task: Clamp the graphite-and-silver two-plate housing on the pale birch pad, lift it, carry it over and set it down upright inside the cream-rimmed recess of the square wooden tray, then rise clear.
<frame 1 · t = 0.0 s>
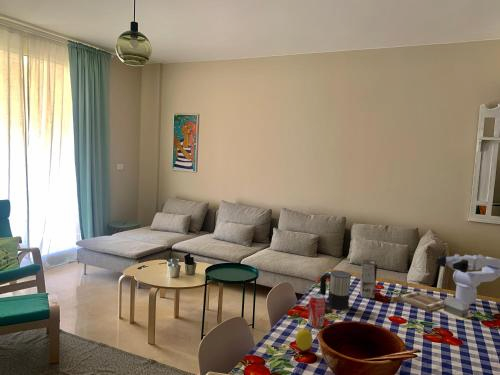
hand: (445, 263, 174), 22 cm above the table, tool horizontal, fingers open, 7 cm apart
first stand: (455, 316, 172), on the table
housing: (455, 312, 171), point 1 cm above the table, touching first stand
square wooden tray: (422, 304, 183), on the table
milk frother: (331, 308, 175), on the table
soda can: (315, 325, 156), on the table
coffee box: (367, 294, 193), on the table
lemon: (303, 351, 135), on the table
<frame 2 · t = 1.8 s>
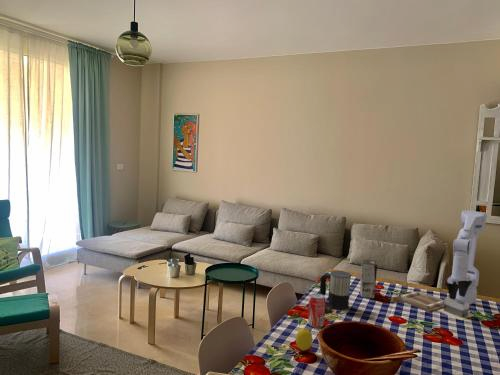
hand: (457, 297, 171), 8 cm above the table, tool pointing down, fingers open, 7 cm apart
nothing on the table moved.
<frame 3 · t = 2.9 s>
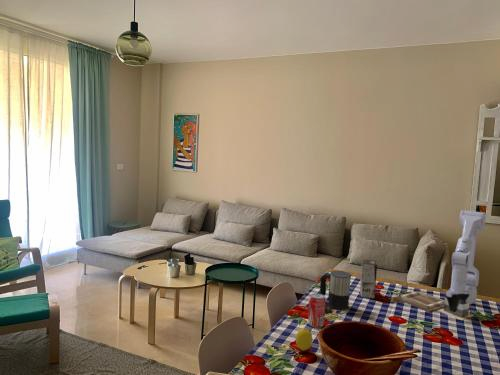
hand: (455, 310, 171), 3 cm above the table, tool pointing down, fingers closed on housing, 5 cm apart
housing: (455, 312, 171), point 1 cm above the table, touching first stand, gripper
everything else where it was.
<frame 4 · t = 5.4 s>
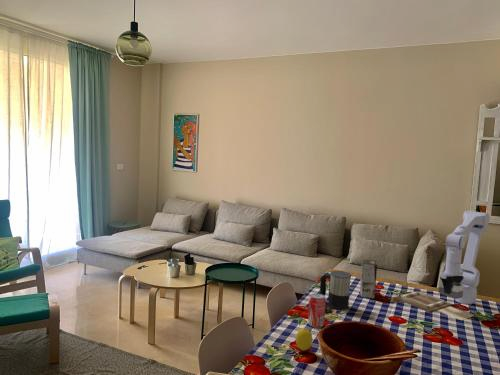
hand: (450, 292, 173), 10 cm above the table, tool pointing down, fingers closed on housing, 5 cm apart
housing: (450, 295, 173), point 8 cm above the table, touching gripper
everything else where it was.
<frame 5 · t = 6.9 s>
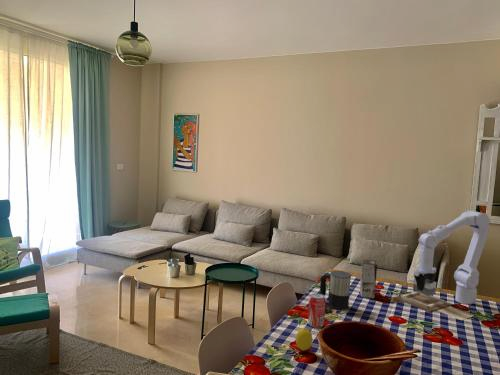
hand: (423, 288, 183), 7 cm above the table, tool pointing down, fingers closed on housing, 5 cm apart
housing: (423, 291, 183), point 6 cm above the table, touching gripper
everything else where it was.
when the fingers open (4 cm above the table, at t = 8.1 s): housing stays where it is, resting on square wooden tray.
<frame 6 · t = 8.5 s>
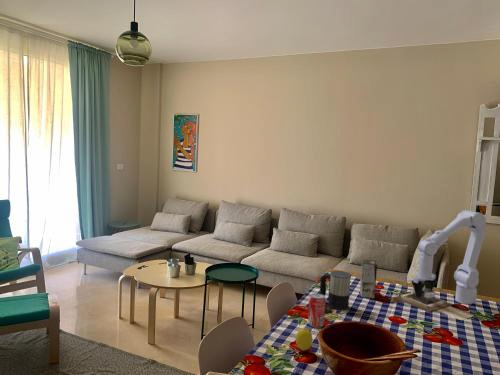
hand: (423, 295, 183), 4 cm above the table, tool pointing down, fingers open, 7 cm apart
housing: (423, 300, 183), point 2 cm above the table, touching square wooden tray
everything else where it was.
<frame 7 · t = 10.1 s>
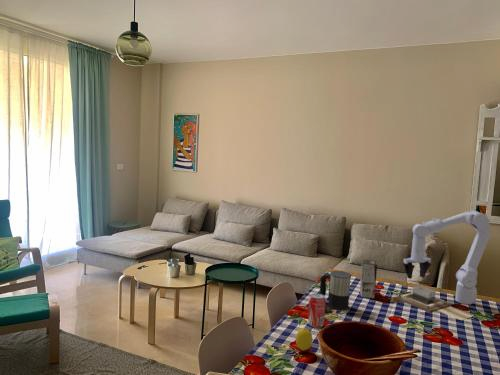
hand: (415, 277, 189), 10 cm above the table, tool pointing down, fingers open, 7 cm apart
nothing on the table moved.
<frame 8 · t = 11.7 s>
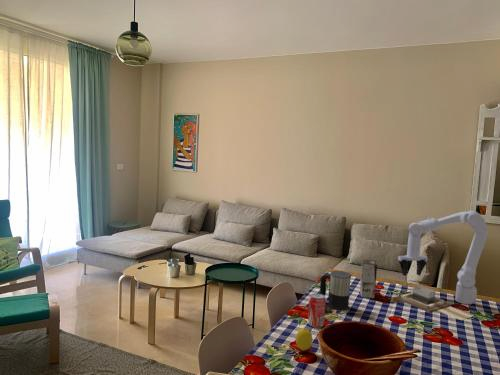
hand: (411, 275, 193), 10 cm above the table, tool pointing down, fingers open, 7 cm apart
nothing on the table moved.
at the end: housing 0.3 cm off-centre on the square wooden tray, point 2.0 cm above the square wooden tray's base; housing tilted 0°; the gripper is holding nothing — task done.
